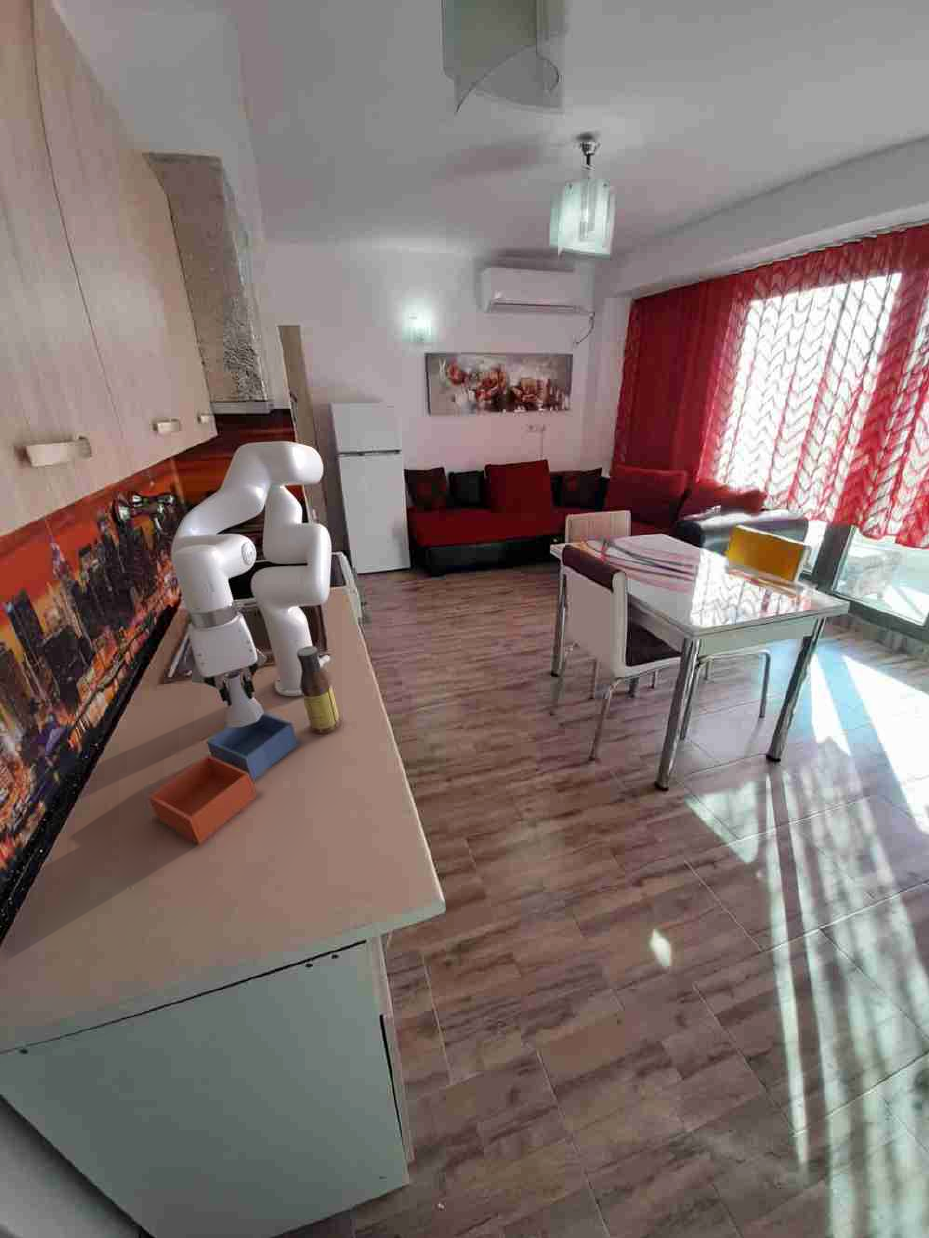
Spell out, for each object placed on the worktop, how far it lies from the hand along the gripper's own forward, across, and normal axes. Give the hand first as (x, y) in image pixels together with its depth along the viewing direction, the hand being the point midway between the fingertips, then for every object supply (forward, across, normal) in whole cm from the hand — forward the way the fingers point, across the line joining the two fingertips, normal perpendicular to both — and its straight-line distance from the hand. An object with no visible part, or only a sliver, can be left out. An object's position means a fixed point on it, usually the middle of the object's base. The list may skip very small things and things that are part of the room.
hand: (239, 698), depth 93 cm
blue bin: (+14, 0, 0) cm, 14 cm away
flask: (+5, 0, 0) cm, 5 cm away
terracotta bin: (+14, +10, +10) cm, 20 cm away
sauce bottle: (+14, -15, 0) cm, 20 cm away
